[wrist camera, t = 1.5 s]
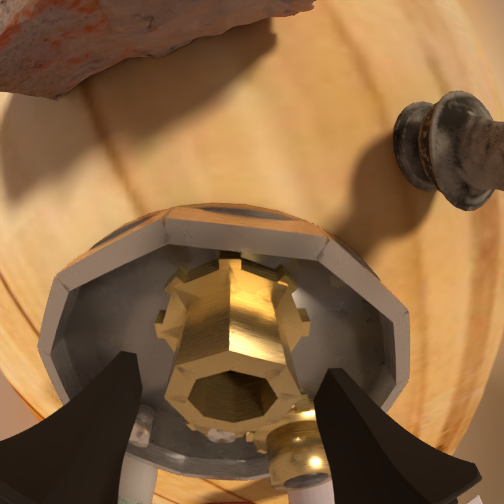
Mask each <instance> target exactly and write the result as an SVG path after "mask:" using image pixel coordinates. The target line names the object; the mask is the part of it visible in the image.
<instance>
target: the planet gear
mask: <svg viewBox="0 0 504 504" xmlns="http://www.w3.org/2000/svg"><path fill="white" fill-rule="evenodd" d="M297 289H298V286H297V283H296V281H295V279H294V277H293V275H292V274H291V273H290V272H289V271H288V270H286V269H285V268H284V267H283V266H282V265H281V264H280V265H279V266H278V267H277V268H276V269H272V268H269V267H267V266H264V265H261V264H259V263H256V262H253V261H250V260H248V259H245V258H242V257H241V252H236V251H227V250H220V254H219V258H217V259H215V260H212V261H210V262H207V263H205V264H202V265H200V266H197V267H195V268H192V269H190V270H186V269H185V268H184V267H183V266H182V265H181V266H180V267H179V268H178V269H177V270H176V271H175V272H174V273H173V274H172V275H171V277H170V278H169V280H168V282H167V284H166V286H165V288H164V290H165V291H166V292H167V293H169V294H170V295H171V298H170V301H169V304H168V307H167V310H160V311H159V313H158V316H157V318H156V321H155V323H154V324H155V329H156V333H157V337H158V338H165V340H166V341H167V343H168V344H169V345H170V347H171V348H172V350H173V351H174V352H175V353H174V357H173V361H172V365H171V370H170V374H169V378H168V382H167V387H166V391H165V395H164V398H165V399H166V400H167V401H168V402H169V403H170V404H171V405H172V406H173V407H174V408H175V409H176V410H177V411H178V412H179V413H180V414H181V415H182V416H183V417H184V418H185V419H186V420H187V421H188V422H189V423H190V424H194V425H198V426H202V427H207V428H211V429H216V430H221V431H226V432H232V433H238V432H242V431H247V430H251V429H256V428H260V427H264V426H268V425H271V424H275V423H278V422H279V421H280V420H281V419H282V418H283V417H284V416H285V415H286V414H287V412H288V411H289V410H290V409H291V408H292V407H293V406H294V404H295V403H296V402H297V401H298V400H299V399H300V397H301V396H302V395H301V391H300V387H299V383H298V379H297V375H296V371H295V368H294V364H293V360H292V356H291V352H292V350H293V349H294V347H295V346H296V344H297V343H298V341H299V339H300V338H301V337H304V336H308V335H309V329H310V322H311V321H310V319H309V316H308V314H307V311H306V309H305V308H297V307H296V304H295V302H294V299H293V297H292V293H293V292H295V291H296V290H297Z"/></svg>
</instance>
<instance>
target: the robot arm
mask: <svg viewBox="0 0 504 504" xmlns="http://www.w3.org/2000/svg"><path fill="white" fill-rule="evenodd" d="M142 390H143V387H142V382H141V376H140V371H139V365H138V359H137V354H136V353H131V352H126V351H120V352H119V353H118V354H117V355H116V356H115V357H114V358H113V359H112V361H111V362H110V363H109V364H108V365H107V366H106V367H105V368H104V369H103V370H102V371H101V372H100V373H99V374H98V375H97V376H96V377H95V378H94V379H93V380H92V381H91V382H90V383H89V384H88V385H87V386H86V387H85V388H84V389H82V390H81V391H80V392H79V393H78V394H77V395H76V396H74V397H73V398H72V399H71V400H70V401H69V402H68V403H66V404H65V405H64V406H63V407H61V408H60V409H59V410H57V411H56V412H54V413H53V414H52V415H50V416H49V417H47V418H46V419H44V420H42V421H41V422H39V423H38V424H36V425H34V426H33V427H31V428H29V429H27V430H25V431H23V432H21V433H19V434H17V435H14V436H12V437H10V438H8V439H5V440H2V441H0V504H118V494H119V484H120V477H121V470H122V464H123V459H124V455H125V452H126V448H127V445H128V442H129V439H130V436H131V432H132V429H133V426H134V423H135V420H136V417H137V414H138V410H139V405H140V400H141V395H142ZM313 402H314V409H315V416H316V422H317V426H318V429H319V433H320V436H321V440H322V443H323V447H324V450H325V453H326V457H327V460H328V464H329V468H330V472H331V478H332V480H331V481H329V482H327V483H325V484H322V485H319V486H316V487H312V488H308V489H303V490H295V491H287V493H288V499H289V504H458V500H457V497H458V496H460V495H461V494H463V493H464V492H466V491H467V490H469V489H470V488H472V487H473V486H474V485H475V484H477V483H478V482H480V481H481V480H482V477H481V475H480V473H479V471H478V469H477V467H476V465H475V464H474V463H471V462H468V461H464V460H461V459H458V458H455V457H453V456H450V455H448V454H446V453H444V452H441V451H439V450H437V449H435V448H433V447H432V446H430V445H428V444H426V443H425V442H423V441H421V440H420V439H418V438H417V437H415V436H414V435H412V434H411V433H410V432H408V431H407V430H405V429H404V428H403V427H401V426H400V425H399V424H398V423H397V422H395V421H394V420H393V419H392V418H391V417H390V416H389V415H387V414H386V413H385V412H384V411H383V410H382V409H381V408H380V407H379V406H378V405H377V404H376V403H375V402H374V401H373V400H372V399H371V398H370V397H369V396H368V395H367V394H366V393H365V392H364V391H363V390H362V389H361V388H360V386H359V385H358V384H357V383H356V382H355V381H354V380H353V379H352V378H351V377H350V376H349V375H348V374H347V372H346V371H345V370H344V369H343V368H328V370H327V372H326V374H325V376H324V379H323V381H322V383H321V385H320V387H319V389H318V392H317V394H316V396H315V398H314V400H313ZM464 504H483V503H482V501H481V499H480V497H479V495H476V496H475V497H473V498H472V499H470V500H468V501H467V502H465V503H464Z"/></svg>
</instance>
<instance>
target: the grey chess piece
mask: <svg viewBox="0 0 504 504" xmlns="http://www.w3.org/2000/svg"><path fill="white" fill-rule="evenodd" d="M393 139H394V151H395V155H396V159H397V163H398V165H399V167H400V169H401V171H402V173H403V175H404V176H405V177H406V178H407V180H408V181H409V182H410V183H411V184H413V185H414V186H415V187H416V188H419V189H421V190H424V191H436V190H439V191H440V192H441V193H442V194H443V195H444V196H445V198H446V199H447V200H448V201H449V202H450V203H451V204H452V205H453V206H454V207H457V208H459V209H462V210H464V211H472V210H476V209H478V208H480V207H482V206H483V205H484V204H485V203H486V202H487V201H488V200H489V199H490V197H491V195H492V194H493V192H494V190H495V189H498V190H502V191H504V122H496V121H493V119H492V117H491V115H490V113H489V111H488V110H487V109H486V108H485V106H484V105H483V104H482V103H481V101H479V100H478V99H477V98H476V97H474V96H473V95H472V94H470V93H467V92H464V91H451V92H449V93H448V94H446V95H444V96H443V97H442V98H441V99H440V101H439V102H437V103H436V104H434V105H433V104H432V103H428V102H416V103H412V104H411V105H409V106H407V107H406V108H405V109H404V110H403V111H402V112H401V114H400V115H399V117H398V120H397V122H396V124H395V130H394V136H393Z"/></svg>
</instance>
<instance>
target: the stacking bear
mask: <svg viewBox="0 0 504 504" xmlns="http://www.w3.org/2000/svg"><path fill="white" fill-rule="evenodd" d="M210 504H254V503H245V502H236V503H210Z"/></svg>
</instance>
